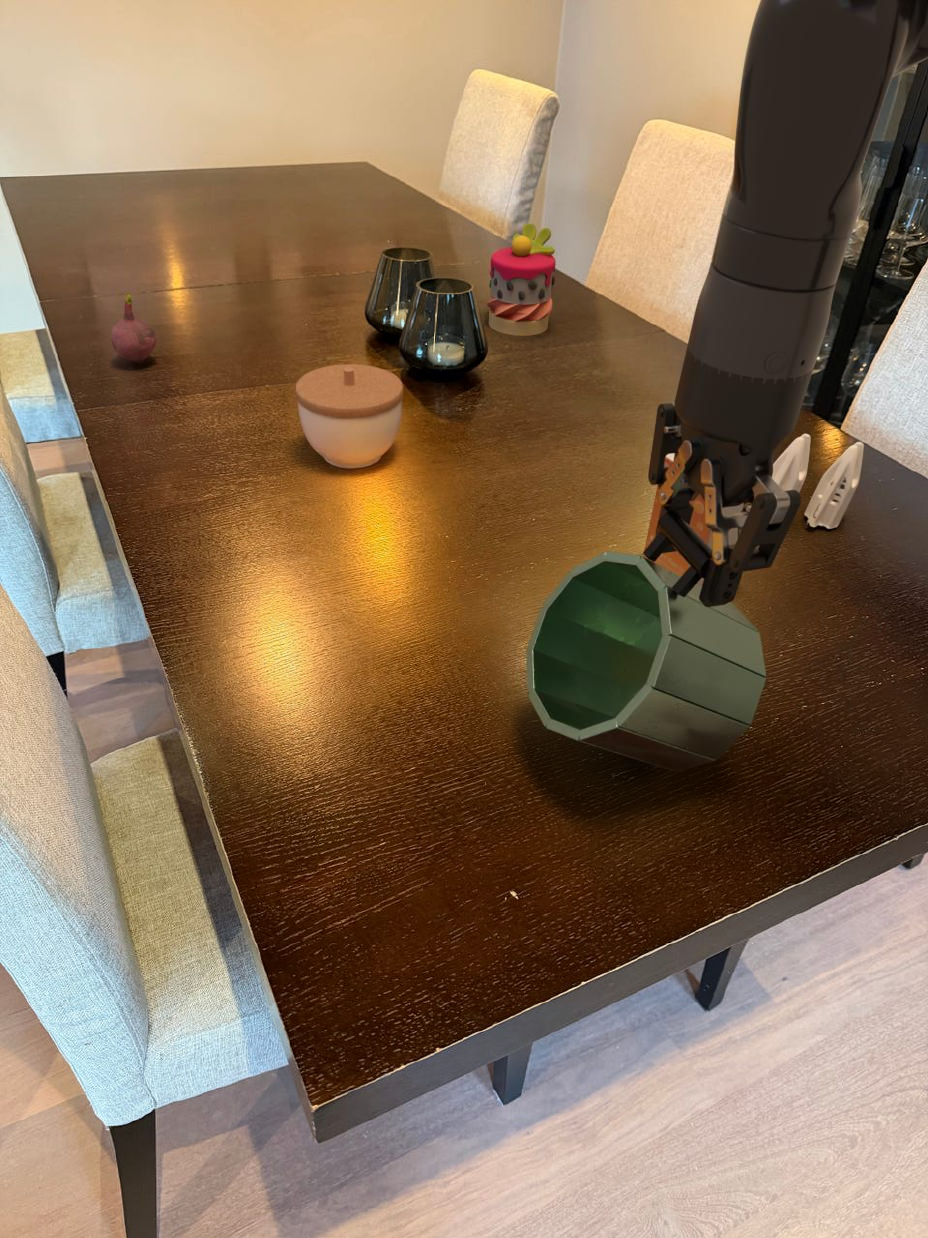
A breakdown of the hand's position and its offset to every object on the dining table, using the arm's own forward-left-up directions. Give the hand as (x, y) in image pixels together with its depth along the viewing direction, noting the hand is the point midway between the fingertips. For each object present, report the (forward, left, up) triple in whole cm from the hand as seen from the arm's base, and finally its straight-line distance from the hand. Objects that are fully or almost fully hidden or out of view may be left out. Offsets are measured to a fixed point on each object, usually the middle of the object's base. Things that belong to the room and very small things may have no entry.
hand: (689, 574), depth 64 cm
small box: (-15, -20, -17) cm, 30 cm away
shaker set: (-32, -26, -17) cm, 44 cm away
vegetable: (+37, -88, -17) cm, 97 cm away
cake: (-23, -91, -17) cm, 95 cm away
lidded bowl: (+13, -54, -17) cm, 58 cm away
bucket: (+6, 0, -14) cm, 15 cm away
